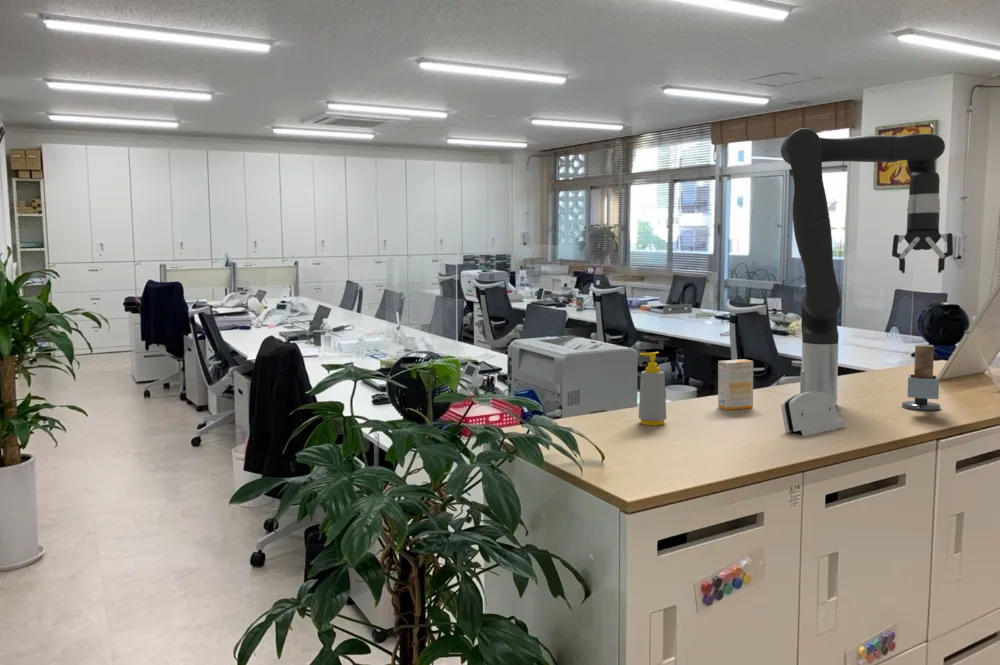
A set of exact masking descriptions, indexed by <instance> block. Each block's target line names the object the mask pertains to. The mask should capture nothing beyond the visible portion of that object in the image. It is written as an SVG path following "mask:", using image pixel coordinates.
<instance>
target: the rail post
mask: <svg viewBox="0 0 1000 665" xmlns="http://www.w3.org/2000/svg"><path fill="white" fill-rule="evenodd" d="M914 347H915V348H914V371H913V374H914V378H926V379H933V375H934V358H935V357H934V356H935V355H934V354H935V352H934V351H935V346H934V345H933V344H916V343H915V345H914Z"/></svg>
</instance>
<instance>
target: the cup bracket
mask: <svg viewBox="0 0 1000 665" xmlns="http://www.w3.org/2000/svg"><path fill="white" fill-rule="evenodd" d="M906 393H907V394H906V396H907V398H910V399H914V400H907V401H903V402H901V408H903V409H907V410H911V411H919V412H937V411H940V410H941V404H939V403H937V402H931V401H928V400H939V394H940V377H939V375H934V374H933V379H926V378H914V373H913V374H912V373H911V374H909V373H908V374H907V392H906Z"/></svg>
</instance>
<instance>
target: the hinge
mask: <svg viewBox="0 0 1000 665" xmlns="http://www.w3.org/2000/svg"><path fill="white" fill-rule="evenodd" d="M780 408H781V414H782V420H783V425H784V431H785V433H786V434H789V433H795V432H799V431H800V432H801V436H802V437H808V436H813V435H817V433H818V434H821V433H820V432H823V433H825V432H824V431H827V432H829V431H828V430H832V431H834V430H833V429H836V430H840V429H839V428H841V429H844V428H843V427H845V428H847V424H846V422H845V419H843V418H842V417H840V415H839V413H838V409H837V408H836V405H835V404H834V401H833V399H832V396H831V395H830V394H827V393H823V392H805V393H801V394H800V393H798V394H796V395H793V396H791V397H789V398H788V399H786V400H784V402H783V403H781V405H780Z"/></svg>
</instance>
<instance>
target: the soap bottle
mask: <svg viewBox="0 0 1000 665" xmlns="http://www.w3.org/2000/svg"><path fill="white" fill-rule="evenodd" d="M659 353H660V352H659V351H654V352H640V353H639V355H640V356H646V357H649V360H650V362H648V363H647V367H645V370H643V371H641V372H640V386H639V388H640V389H639V405H638V419H640V422H641V424H642V425H645V426H661V425H664V424H665V420H667V401H666V382H665V381H666V379H665V372H664V371H663V370H661V368H660V367H659V366H658V363H657V362H656V356H657V355H658V354H659ZM656 354H657V355H656Z"/></svg>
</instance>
